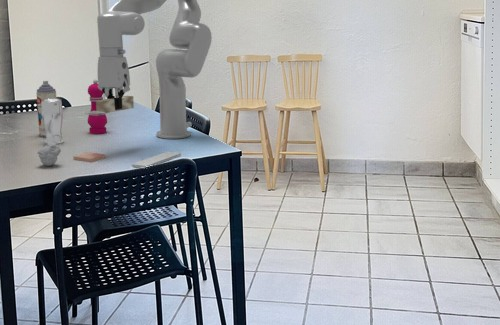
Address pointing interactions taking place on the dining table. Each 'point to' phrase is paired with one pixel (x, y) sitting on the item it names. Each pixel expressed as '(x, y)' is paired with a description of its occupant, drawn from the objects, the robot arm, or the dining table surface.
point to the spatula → (111, 105)
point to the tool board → (156, 159)
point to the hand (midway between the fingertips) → (115, 108)
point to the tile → (89, 157)
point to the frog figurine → (49, 154)
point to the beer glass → (52, 120)
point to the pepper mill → (93, 120)
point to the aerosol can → (42, 93)
